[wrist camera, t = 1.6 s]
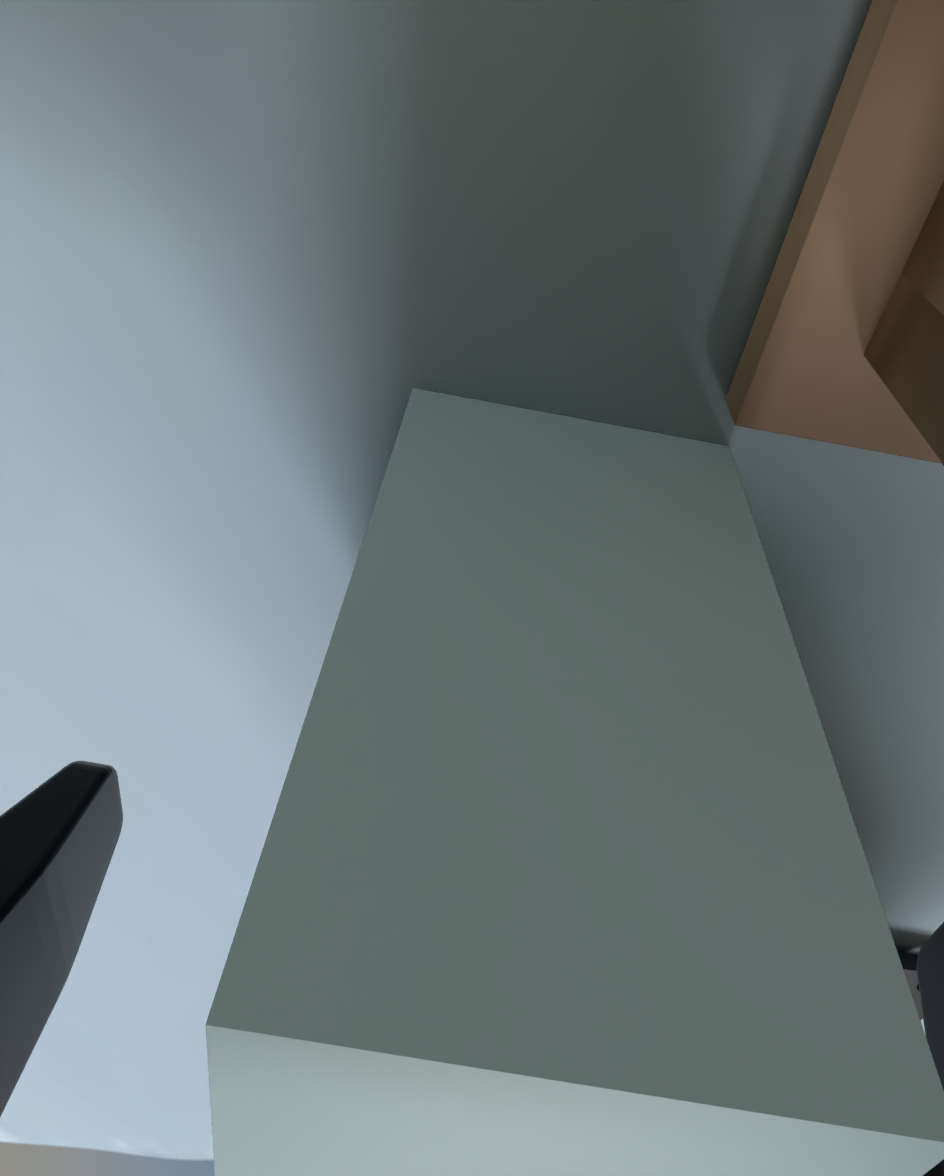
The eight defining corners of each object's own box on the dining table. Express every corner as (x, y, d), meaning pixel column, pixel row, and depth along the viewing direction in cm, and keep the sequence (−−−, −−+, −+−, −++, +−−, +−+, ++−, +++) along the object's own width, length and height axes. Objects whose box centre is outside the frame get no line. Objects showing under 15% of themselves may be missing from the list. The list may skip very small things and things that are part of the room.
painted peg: (640, 676, 15) (712, 1338, 8) (381, 631, 15) (219, 1263, 8) (729, 445, 12) (961, 1145, 5) (412, 387, 12) (204, 1025, 5)
